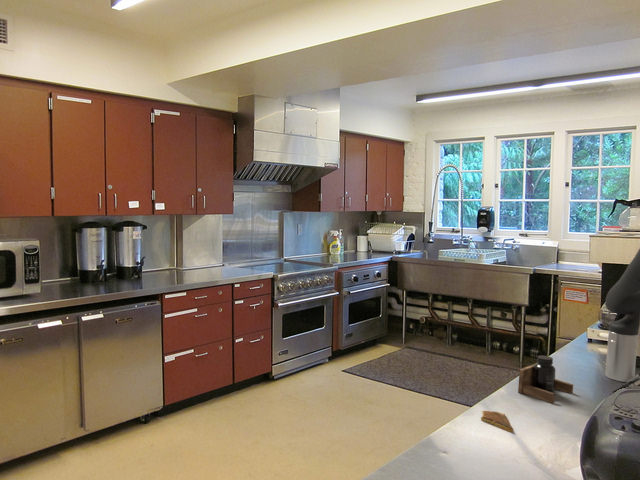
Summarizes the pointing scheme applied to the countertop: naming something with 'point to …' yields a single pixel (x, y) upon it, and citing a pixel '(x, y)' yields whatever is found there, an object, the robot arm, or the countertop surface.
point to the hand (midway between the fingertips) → (615, 394)
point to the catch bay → (528, 388)
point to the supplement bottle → (544, 374)
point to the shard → (497, 420)
